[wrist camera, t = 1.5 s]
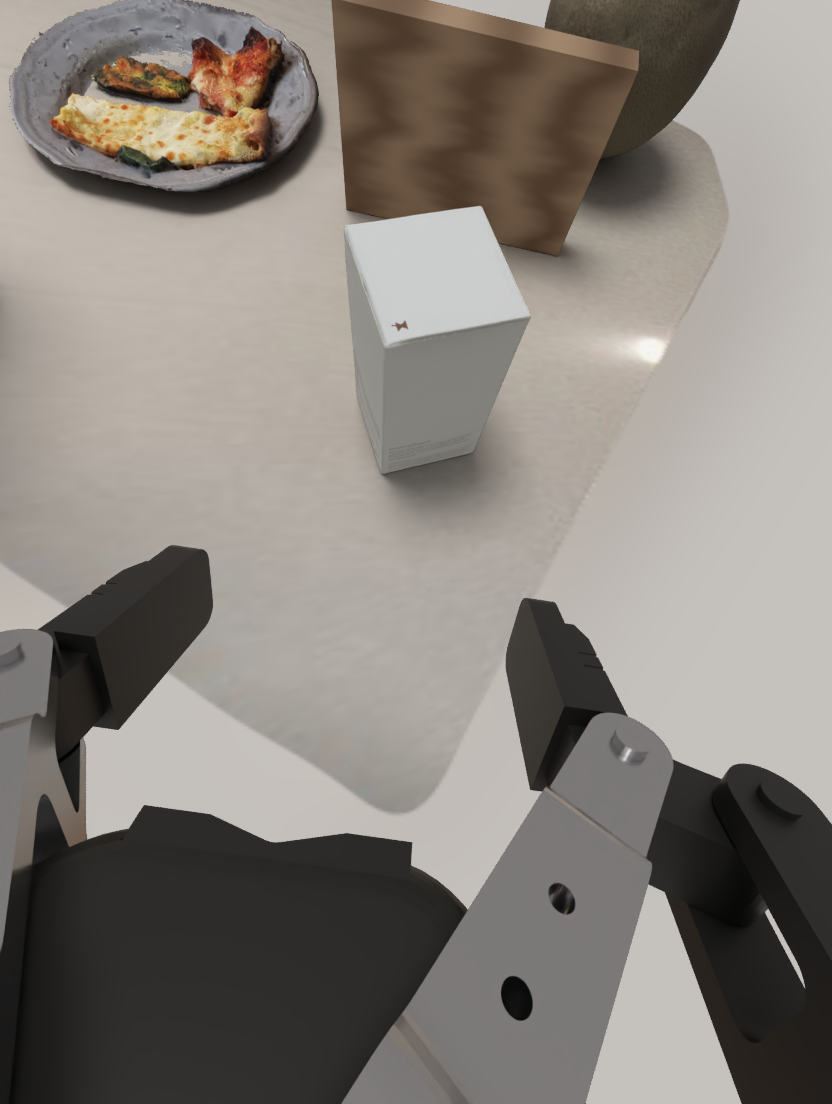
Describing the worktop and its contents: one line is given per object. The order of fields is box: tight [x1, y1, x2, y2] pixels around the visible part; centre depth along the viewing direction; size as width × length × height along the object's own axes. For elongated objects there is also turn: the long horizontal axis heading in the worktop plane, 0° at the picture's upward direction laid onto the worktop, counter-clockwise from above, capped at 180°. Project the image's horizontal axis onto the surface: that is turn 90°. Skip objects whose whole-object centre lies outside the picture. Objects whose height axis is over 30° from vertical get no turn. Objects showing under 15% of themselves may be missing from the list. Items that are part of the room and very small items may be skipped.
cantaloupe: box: [545, 0, 740, 158], centre depth 34 cm, size 14×14×15 cm
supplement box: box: [344, 206, 531, 474], centre depth 25 cm, size 7×7×13 cm
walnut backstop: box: [332, 0, 639, 256], centre depth 31 cm, size 19×2×12 cm, turn 80°
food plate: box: [9, 0, 319, 193], centre depth 37 cm, size 25×23×4 cm
